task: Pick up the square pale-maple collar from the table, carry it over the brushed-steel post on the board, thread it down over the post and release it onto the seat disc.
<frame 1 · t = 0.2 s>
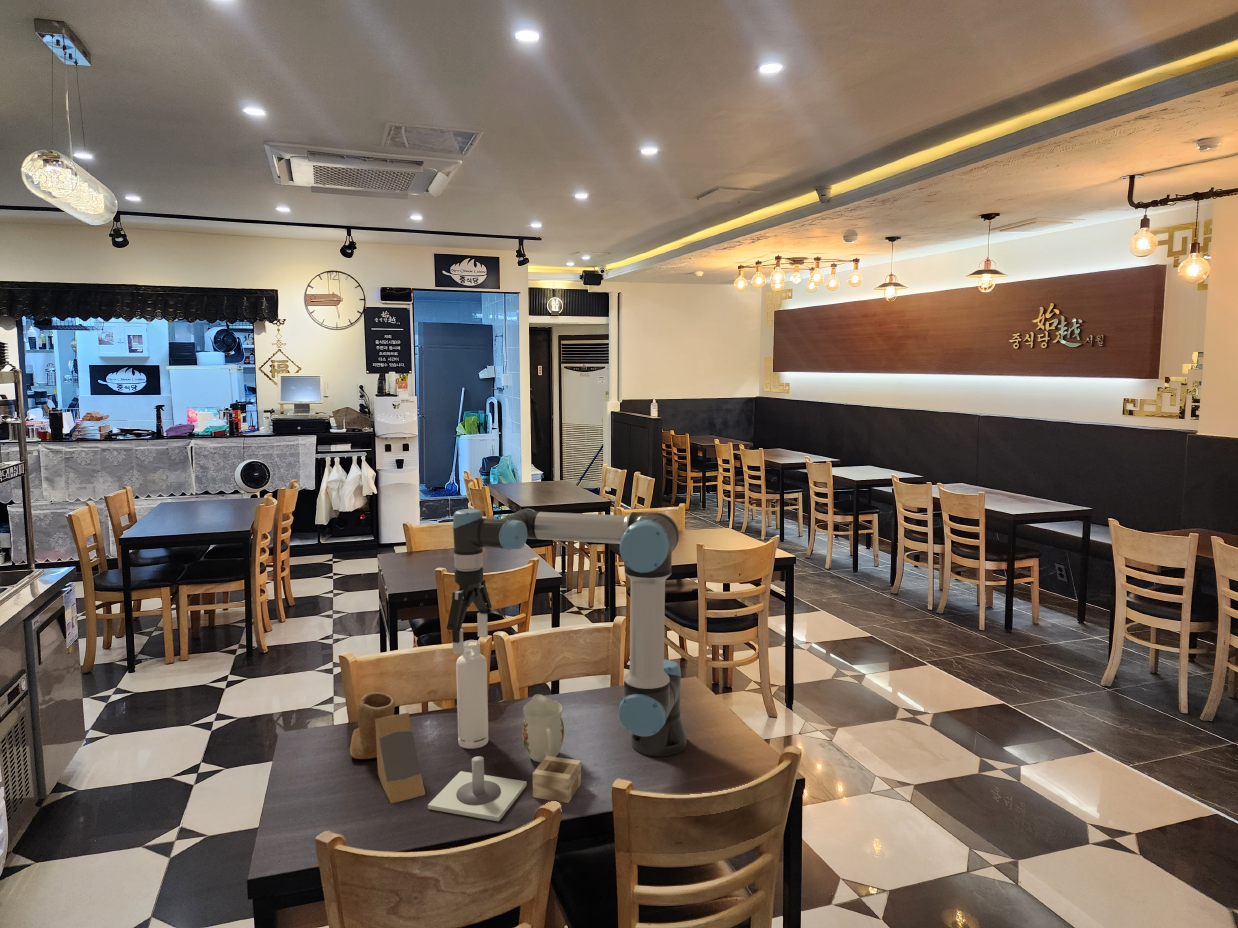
hand: (470, 644, 212), 28 cm above the table, fingers open, 13 cm apart
post stand: (478, 796, 188), on the table
pitcher: (544, 758, 207), on the table
tan boot: (373, 749, 212), on the table
collar: (557, 790, 191), on the table
bottle: (473, 742, 216), on the table
sandwich container: (401, 785, 194), on the table
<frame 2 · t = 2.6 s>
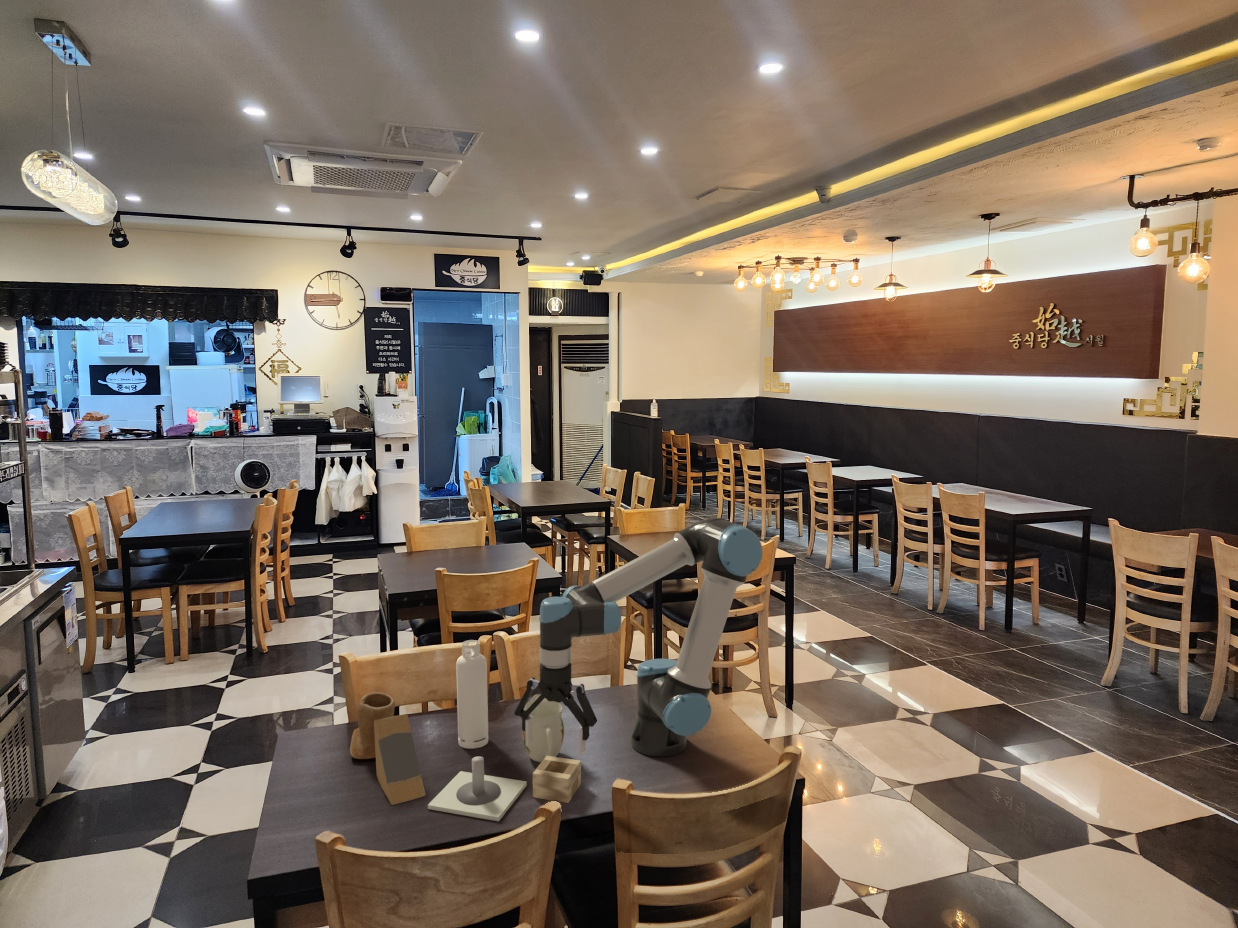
hand: (555, 747, 189), 11 cm above the table, fingers open, 13 cm apart
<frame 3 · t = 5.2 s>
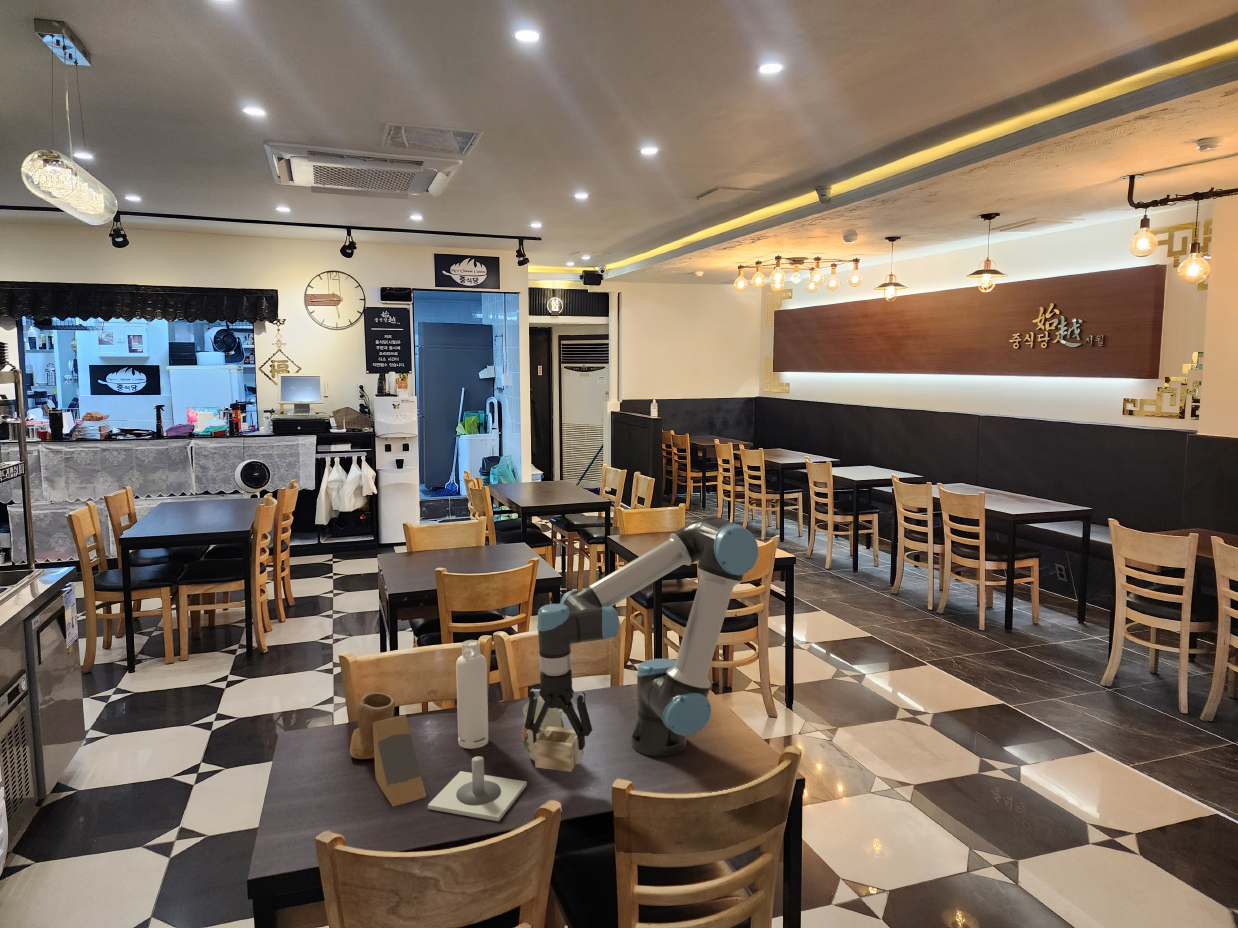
hand: (559, 758, 190), 8 cm above the table, fingers closed on collar, 9 cm apart
collar: (559, 759, 190), point 8 cm above the table, touching gripper
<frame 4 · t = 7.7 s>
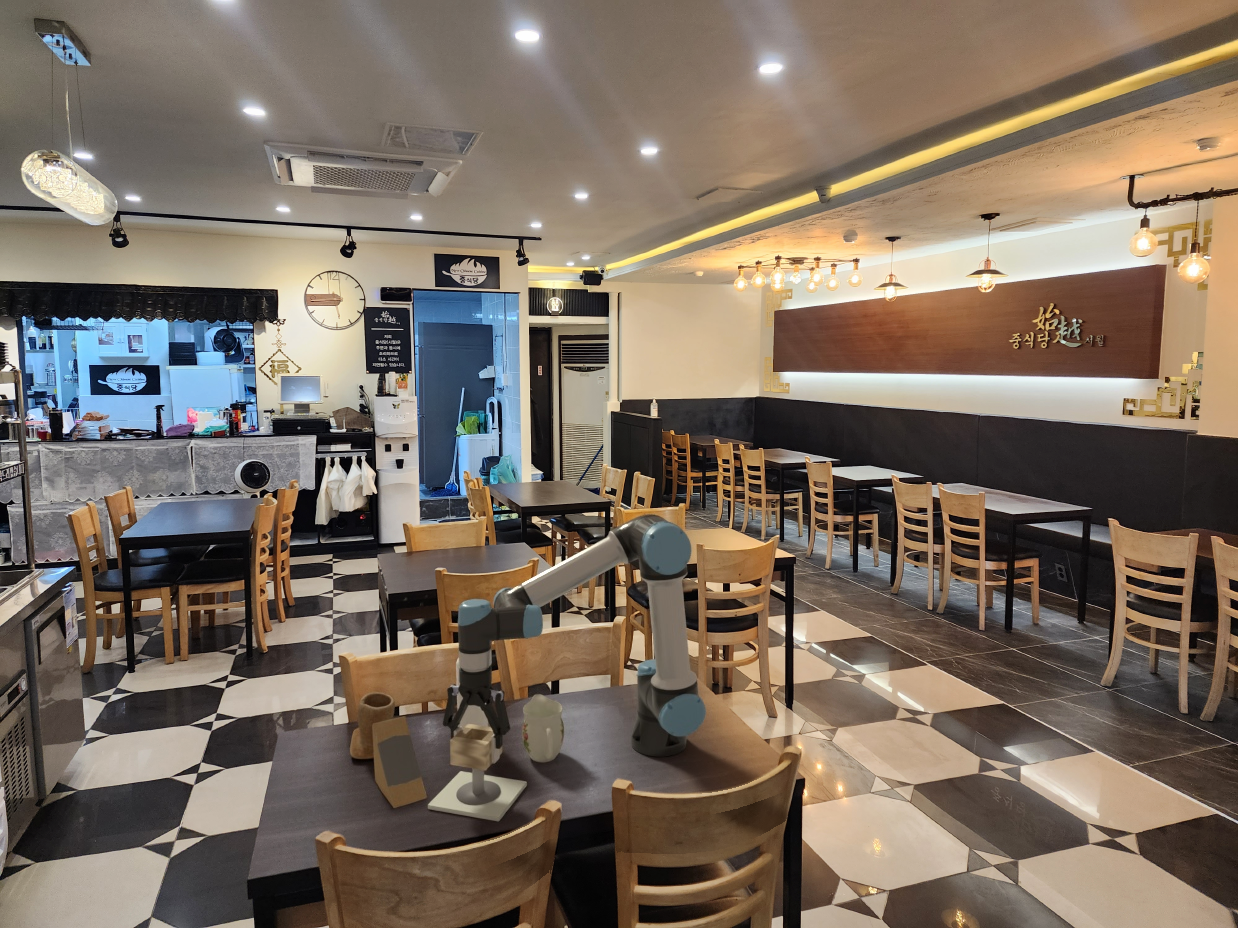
hand: (476, 757, 187), 10 cm above the table, fingers closed on collar, 9 cm apart
collar: (476, 758, 187), point 10 cm above the table, touching gripper
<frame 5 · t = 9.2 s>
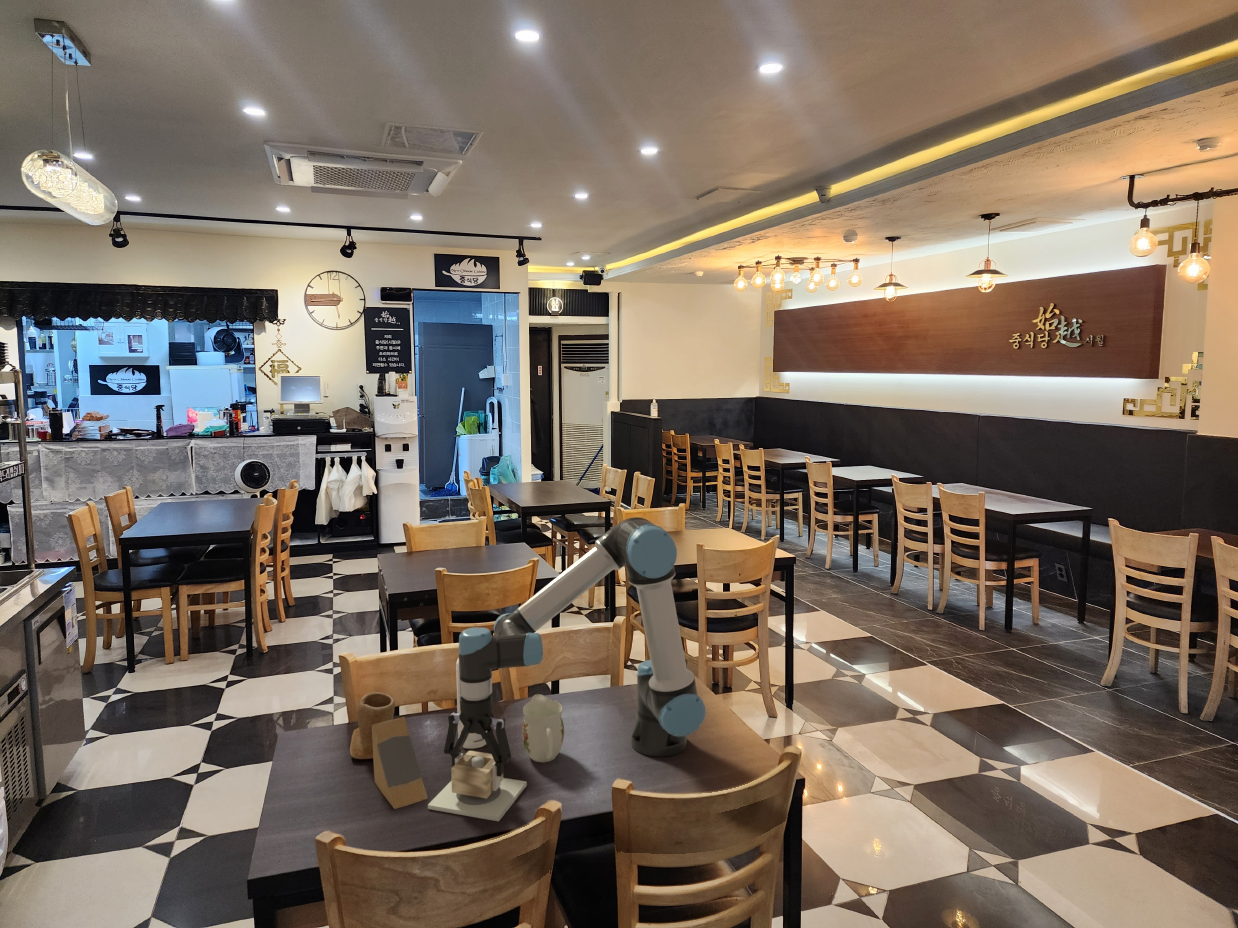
hand: (478, 784, 188), 3 cm above the table, fingers closed on collar, 9 cm apart
collar: (477, 785, 188), point 3 cm above the table, touching gripper
when the fingers open (2 cm above the table, at t = 10.2 s): collar stays where it is, resting on post stand.
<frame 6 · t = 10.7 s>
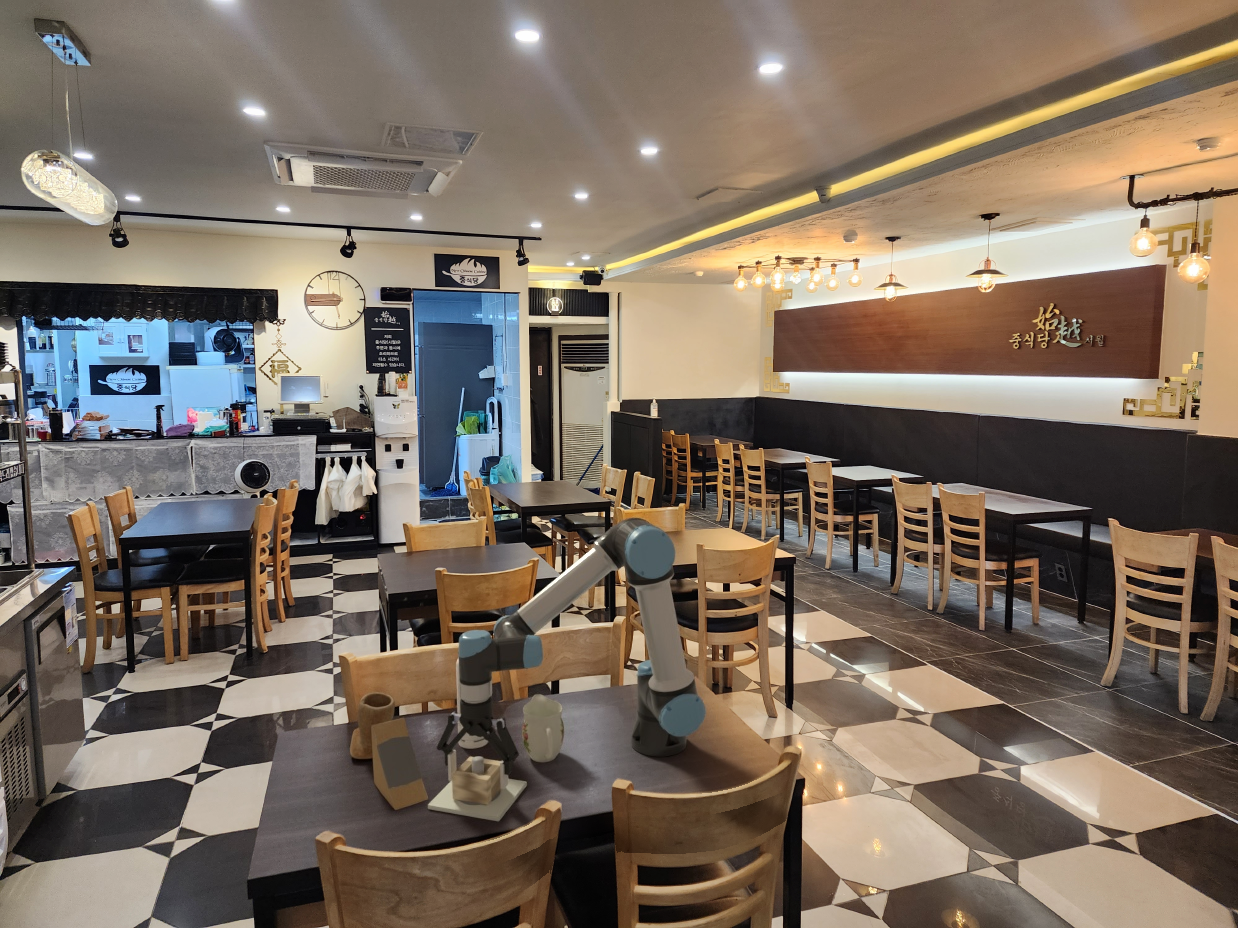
hand: (478, 782, 188), 4 cm above the table, fingers open, 13 cm apart
collar: (478, 791, 188), point 1 cm above the table, touching post stand
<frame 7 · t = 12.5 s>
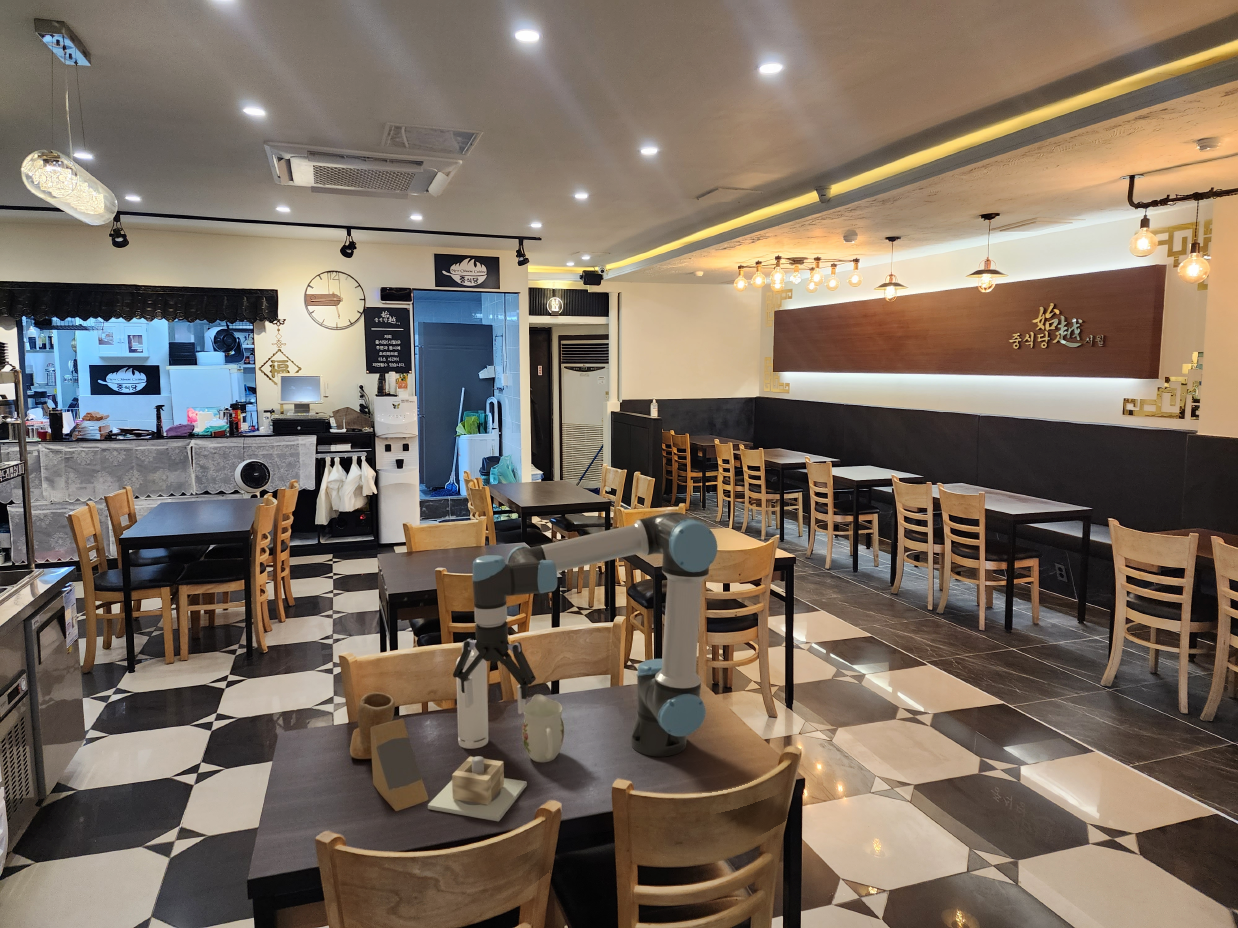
hand: (495, 708, 187), 21 cm above the table, fingers open, 13 cm apart
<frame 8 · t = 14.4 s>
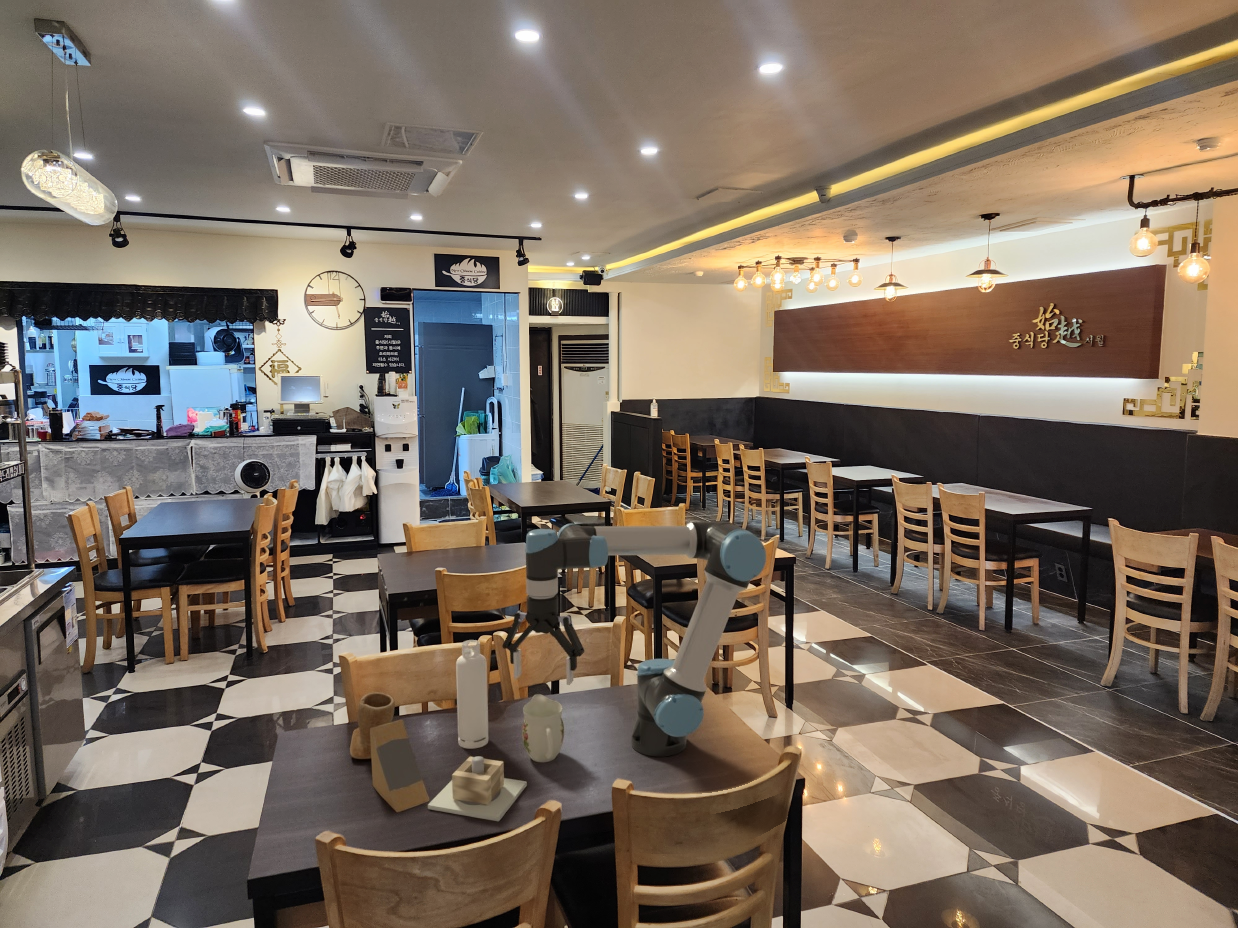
hand: (543, 679, 191), 27 cm above the table, fingers open, 13 cm apart
at the end: collar 0.1 cm off-centre on the post stand, point 1.3 cm above the post stand's base; the gripper is holding nothing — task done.
